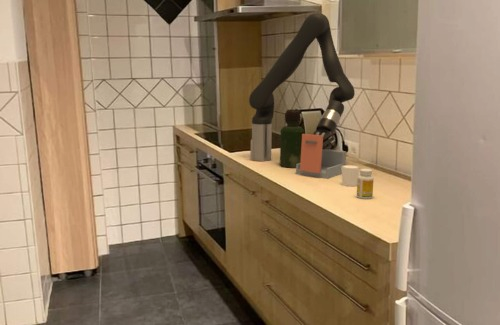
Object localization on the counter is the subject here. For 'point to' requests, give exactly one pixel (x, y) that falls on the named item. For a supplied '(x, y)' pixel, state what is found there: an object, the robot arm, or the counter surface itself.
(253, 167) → the counter surface
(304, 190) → the counter surface
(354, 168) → the tan cylinder
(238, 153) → the counter surface
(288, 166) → the green water bottle
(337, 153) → the tray
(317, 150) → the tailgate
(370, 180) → the supplement bottle
